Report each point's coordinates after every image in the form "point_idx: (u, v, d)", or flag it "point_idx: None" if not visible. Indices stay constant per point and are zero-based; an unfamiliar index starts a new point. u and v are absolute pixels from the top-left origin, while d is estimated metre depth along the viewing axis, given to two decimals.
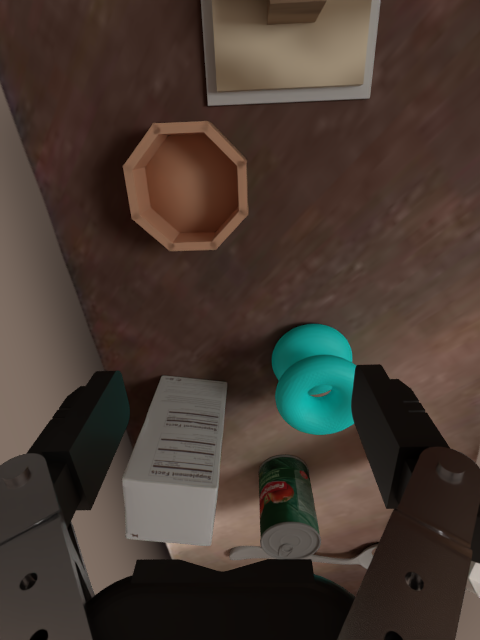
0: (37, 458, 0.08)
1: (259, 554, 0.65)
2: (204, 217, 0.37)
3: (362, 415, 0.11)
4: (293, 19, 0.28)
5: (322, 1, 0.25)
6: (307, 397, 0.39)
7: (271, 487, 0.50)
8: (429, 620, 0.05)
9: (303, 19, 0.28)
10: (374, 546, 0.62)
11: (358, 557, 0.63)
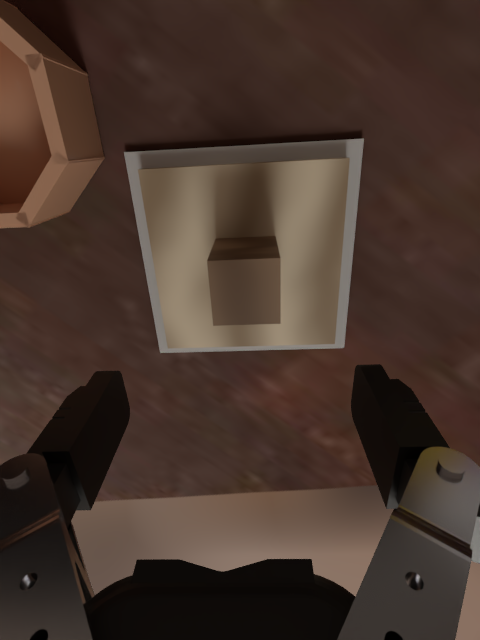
0: (37, 458, 0.08)
1: None
2: None
3: (361, 415, 0.11)
4: None
5: (212, 320, 0.21)
6: None
7: None
8: (429, 620, 0.05)
9: None
10: None
11: None
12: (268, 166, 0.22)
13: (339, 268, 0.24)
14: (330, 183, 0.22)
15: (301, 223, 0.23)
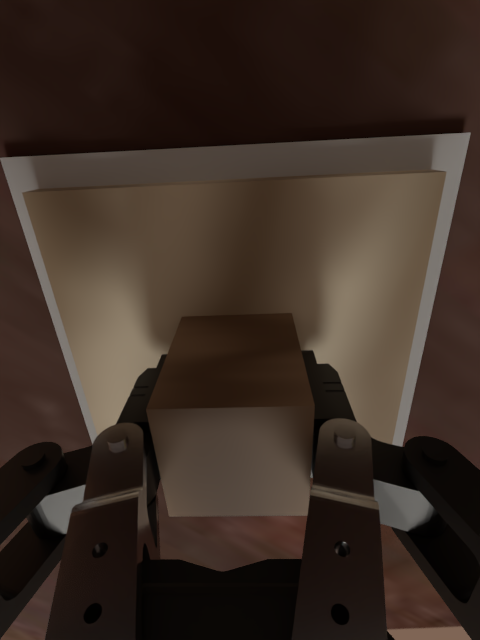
0: (133, 427, 0.09)
1: None
2: None
3: None
4: None
5: None
6: None
7: None
8: (361, 579, 0.05)
9: None
10: None
11: None
12: (281, 187, 0.11)
13: (405, 366, 0.14)
14: (402, 220, 0.11)
15: (340, 292, 0.12)
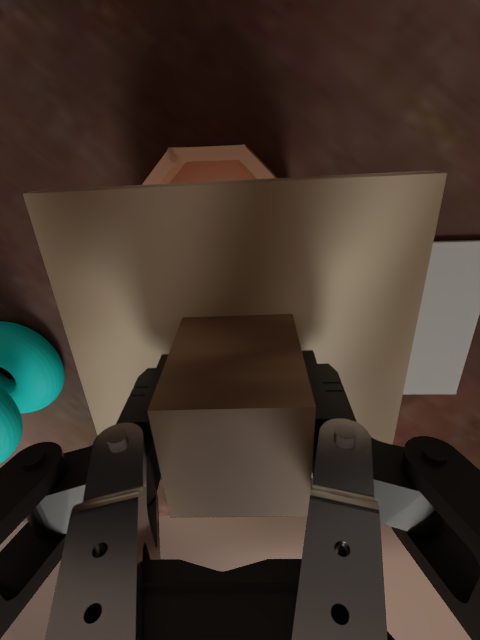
0: (133, 427, 0.09)
1: None
2: None
3: None
4: None
5: None
6: None
7: None
8: (362, 579, 0.05)
9: None
10: None
11: None
12: (282, 188, 0.11)
13: (405, 366, 0.14)
14: (403, 221, 0.11)
15: (341, 293, 0.12)
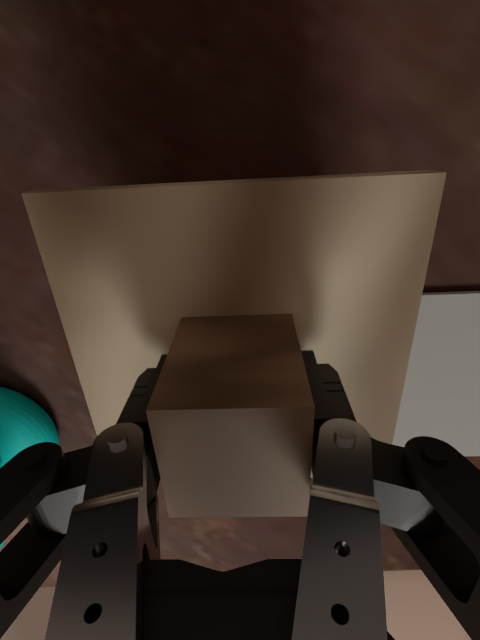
0: (133, 427, 0.09)
1: None
2: None
3: None
4: None
5: None
6: None
7: None
8: (362, 579, 0.05)
9: None
10: None
11: None
12: (281, 188, 0.11)
13: (405, 366, 0.14)
14: (402, 221, 0.11)
15: (340, 293, 0.12)
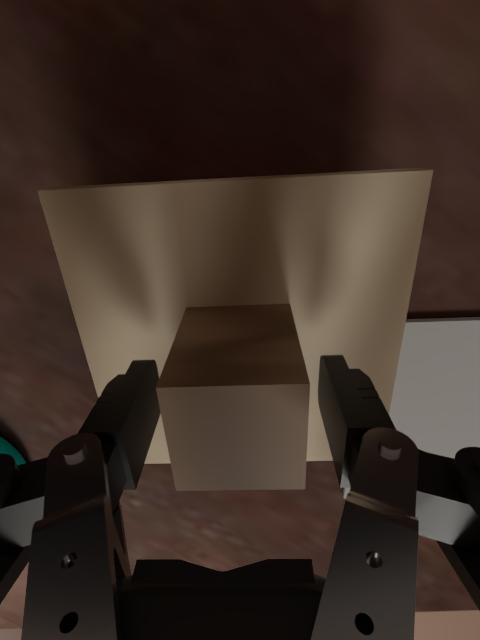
0: (92, 437, 0.09)
1: None
2: None
3: (324, 403, 0.12)
4: None
5: None
6: None
7: None
8: (391, 594, 0.05)
9: None
10: None
11: None
12: (279, 185, 0.12)
13: (397, 354, 0.14)
14: (393, 216, 0.12)
15: (335, 283, 0.13)
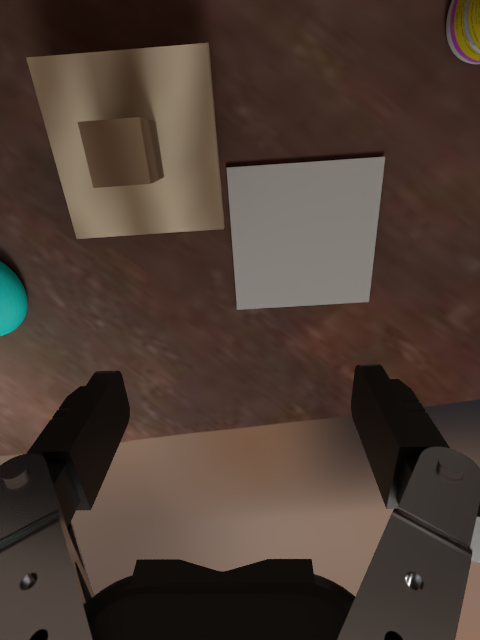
0: (37, 458, 0.08)
1: None
2: None
3: (361, 415, 0.11)
4: None
5: (92, 183, 0.24)
6: None
7: None
8: (429, 620, 0.05)
9: None
10: None
11: None
12: (139, 52, 0.25)
13: (216, 152, 0.28)
14: (195, 67, 0.25)
15: (176, 108, 0.26)
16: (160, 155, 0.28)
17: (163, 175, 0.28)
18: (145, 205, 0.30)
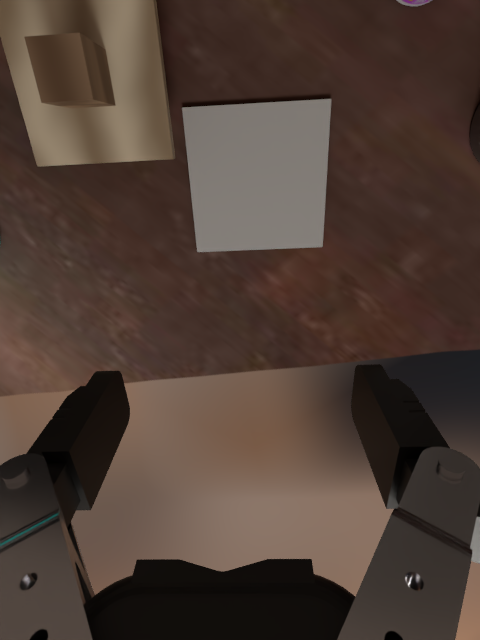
0: (37, 458, 0.08)
1: None
2: None
3: (361, 415, 0.11)
4: None
5: (41, 98, 0.27)
6: None
7: None
8: (429, 620, 0.05)
9: None
10: None
11: None
12: None
13: (162, 81, 0.30)
14: None
15: (123, 36, 0.29)
16: (110, 83, 0.30)
17: (114, 103, 0.31)
18: (99, 133, 0.32)
